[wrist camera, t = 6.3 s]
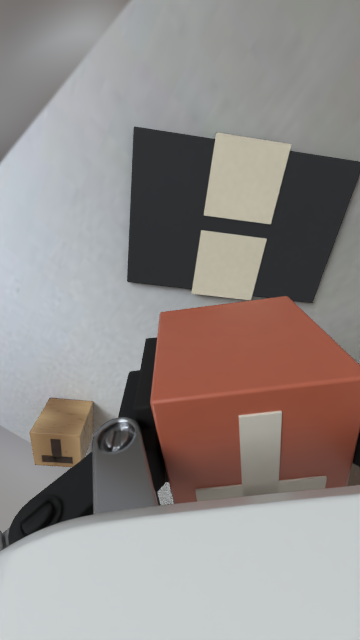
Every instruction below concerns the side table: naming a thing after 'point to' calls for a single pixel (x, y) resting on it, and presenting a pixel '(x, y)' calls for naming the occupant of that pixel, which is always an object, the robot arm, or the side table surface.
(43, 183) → the side table surface
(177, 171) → the word mat
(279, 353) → the terracotta block
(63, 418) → the maple block
